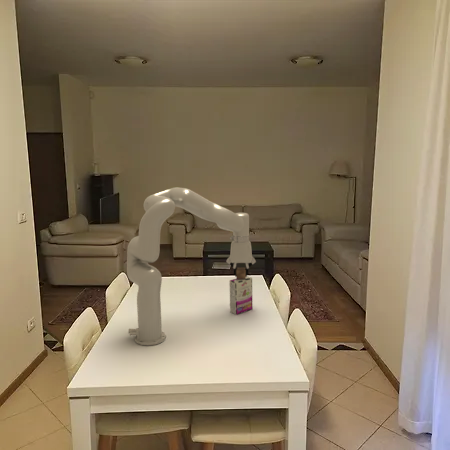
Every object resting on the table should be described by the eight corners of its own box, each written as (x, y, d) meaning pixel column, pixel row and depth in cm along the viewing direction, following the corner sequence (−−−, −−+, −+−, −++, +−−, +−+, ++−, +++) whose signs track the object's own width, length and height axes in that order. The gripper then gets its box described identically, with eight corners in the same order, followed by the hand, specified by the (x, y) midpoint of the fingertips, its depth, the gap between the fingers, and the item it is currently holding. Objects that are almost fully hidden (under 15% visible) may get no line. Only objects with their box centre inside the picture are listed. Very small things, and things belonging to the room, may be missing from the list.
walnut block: (236, 278, 192) (236, 270, 192) (236, 275, 197) (236, 267, 196) (245, 278, 192) (245, 270, 191) (245, 275, 197) (245, 267, 196)
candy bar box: (245, 306, 203) (245, 275, 200) (252, 309, 199) (252, 277, 196) (229, 312, 196) (229, 279, 193) (236, 315, 192) (236, 282, 189)
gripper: (223, 240, 188) (223, 278, 191) (259, 240, 187) (258, 278, 190) (223, 237, 195) (223, 273, 198) (258, 237, 195) (258, 273, 198)
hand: (241, 275), depth 194 cm, fingers closed on walnut block, 4 cm apart
